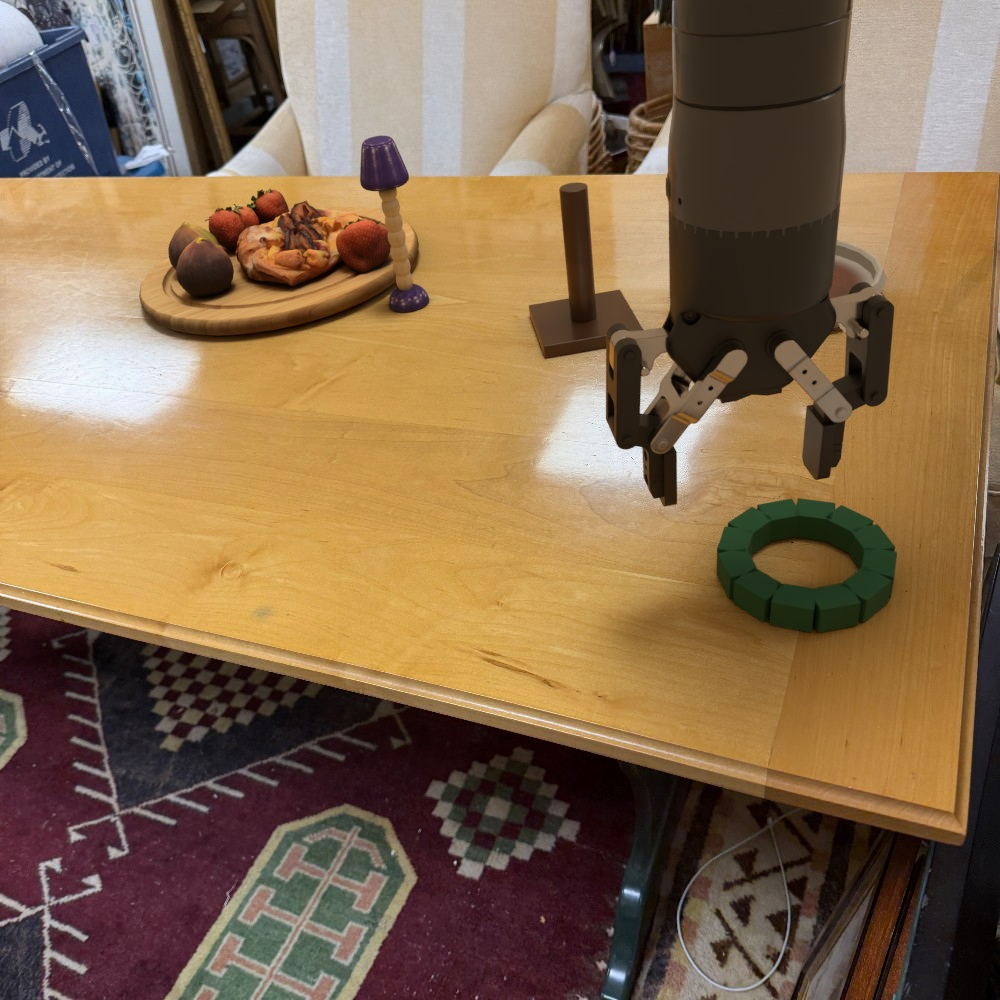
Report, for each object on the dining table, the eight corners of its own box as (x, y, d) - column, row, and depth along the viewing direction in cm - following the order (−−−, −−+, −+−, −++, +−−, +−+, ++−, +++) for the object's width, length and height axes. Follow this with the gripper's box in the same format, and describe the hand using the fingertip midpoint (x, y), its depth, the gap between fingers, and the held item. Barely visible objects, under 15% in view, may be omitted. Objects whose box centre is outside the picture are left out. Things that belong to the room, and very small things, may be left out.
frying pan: (884, 195, 95) (889, 309, 74) (881, 222, 97) (885, 342, 76) (718, 198, 100) (679, 305, 79) (718, 224, 102) (679, 336, 81)
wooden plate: (478, 248, 104) (467, 176, 99) (251, 369, 87) (225, 288, 82) (307, 210, 123) (291, 148, 118) (93, 303, 106) (64, 234, 101)
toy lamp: (441, 301, 94) (411, 134, 84) (407, 319, 91) (372, 149, 81) (411, 291, 97) (379, 129, 87) (378, 308, 94) (340, 143, 84)
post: (620, 300, 89) (613, 163, 81) (643, 341, 81) (638, 194, 73) (529, 316, 88) (513, 180, 80) (545, 358, 81) (529, 213, 73)
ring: (847, 509, 59) (850, 487, 58) (924, 613, 51) (929, 590, 50) (697, 536, 59) (698, 514, 58) (751, 645, 51) (752, 622, 50)
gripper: (617, 250, 38) (632, 549, 47) (950, 193, 38) (897, 501, 48) (581, 194, 44) (600, 469, 53) (868, 146, 44) (837, 427, 54)
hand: (741, 484), depth 51 cm, fingers open, 8 cm apart
